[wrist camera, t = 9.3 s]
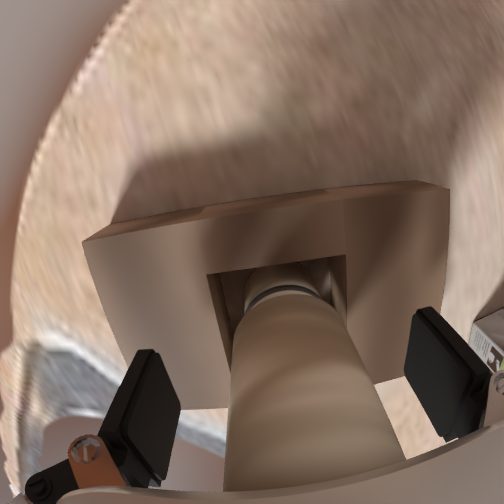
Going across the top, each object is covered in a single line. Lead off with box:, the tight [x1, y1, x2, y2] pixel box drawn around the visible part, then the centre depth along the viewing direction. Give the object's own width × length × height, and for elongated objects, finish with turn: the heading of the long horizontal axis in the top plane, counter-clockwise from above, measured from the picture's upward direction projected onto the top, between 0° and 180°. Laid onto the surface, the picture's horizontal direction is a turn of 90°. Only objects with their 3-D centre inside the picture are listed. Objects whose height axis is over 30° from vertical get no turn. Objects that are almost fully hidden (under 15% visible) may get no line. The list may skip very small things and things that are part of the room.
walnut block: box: [82, 180, 450, 410], centre depth 14 cm, size 16×10×3 cm, turn 98°
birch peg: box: [223, 262, 406, 492], centre depth 10 cm, size 4×4×12 cm
